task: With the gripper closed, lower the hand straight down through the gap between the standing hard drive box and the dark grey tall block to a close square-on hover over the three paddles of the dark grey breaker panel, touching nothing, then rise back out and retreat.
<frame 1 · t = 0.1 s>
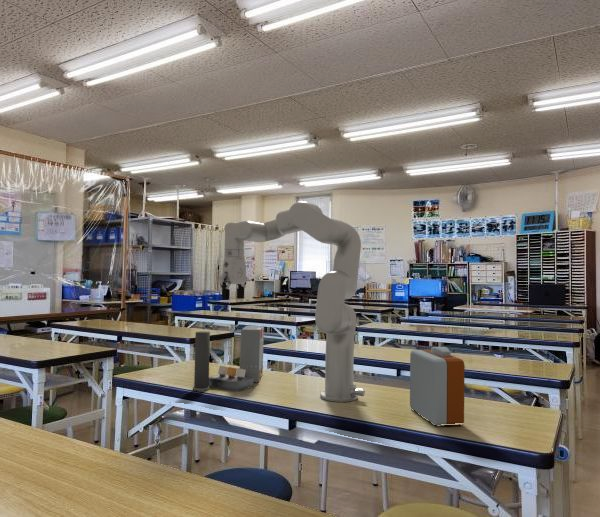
hand: (233, 299, 179), 31 cm above the table, tool pointing down, fingers open, 9 cm apart
grey and brown block: (435, 418, 137), on the table
dark grey tall block: (201, 389, 165), on the table
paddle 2: (231, 372, 170), point 5 cm above the table, hinge at 18.0°, touching breaker panel
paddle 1: (240, 374, 168), point 5 cm above the table, hinge at 18.0°, touching breaker panel
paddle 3: (222, 371, 172), point 5 cm above the table, hinge at 18.0°, touching breaker panel
breaker panel: (230, 386, 170), on the table
hard drive box: (251, 378, 183), on the table
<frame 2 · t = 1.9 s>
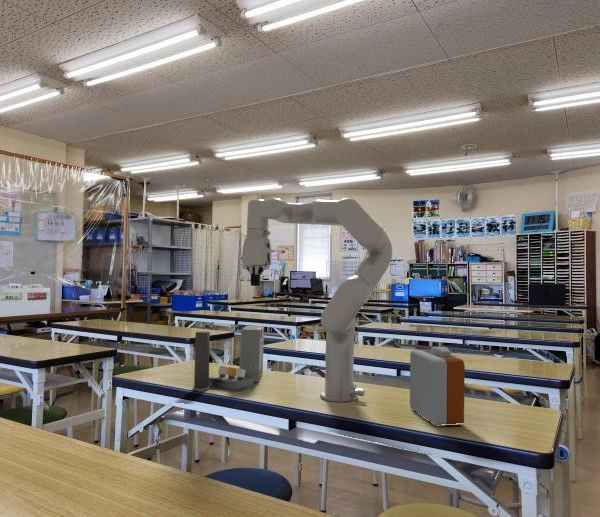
hand: (255, 285, 166), 37 cm above the table, tool pointing down, fingers closed
nothing on the table moved.
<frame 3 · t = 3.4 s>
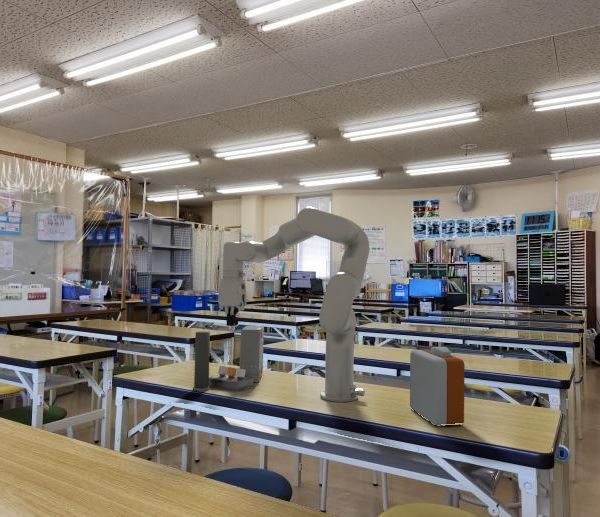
hand: (230, 325, 171), 22 cm above the table, tool pointing down, fingers closed
nothing on the table moved.
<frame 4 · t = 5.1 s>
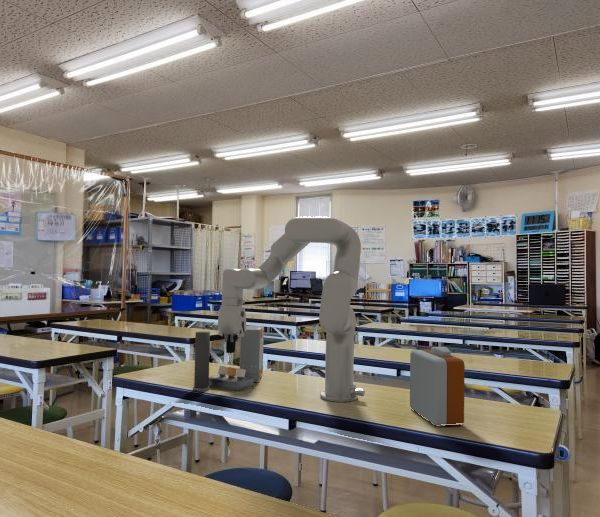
hand: (230, 352, 170), 12 cm above the table, tool pointing down, fingers closed
nothing on the table moved.
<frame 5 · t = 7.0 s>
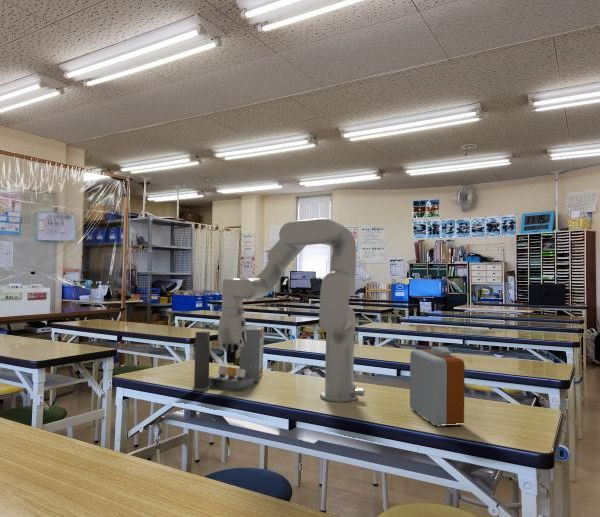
hand: (231, 362, 170), 9 cm above the table, tool pointing down, fingers closed
nothing on the table moved.
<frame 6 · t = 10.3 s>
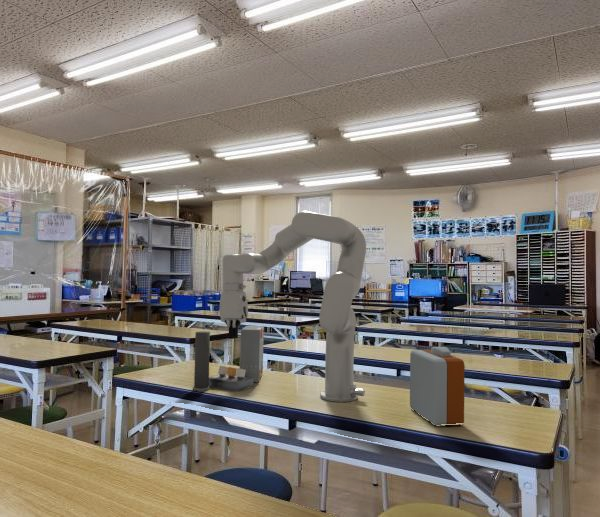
hand: (233, 338, 170), 17 cm above the table, tool pointing down, fingers closed
nothing on the table moved.
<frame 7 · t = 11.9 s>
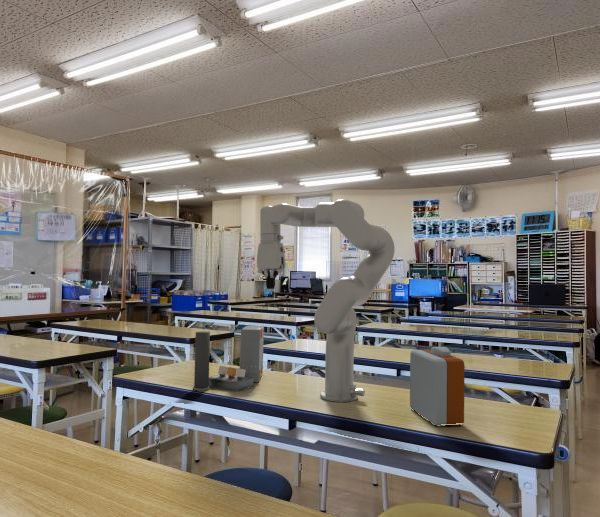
hand: (270, 288, 173), 36 cm above the table, tool pointing down, fingers closed
nothing on the table moved.
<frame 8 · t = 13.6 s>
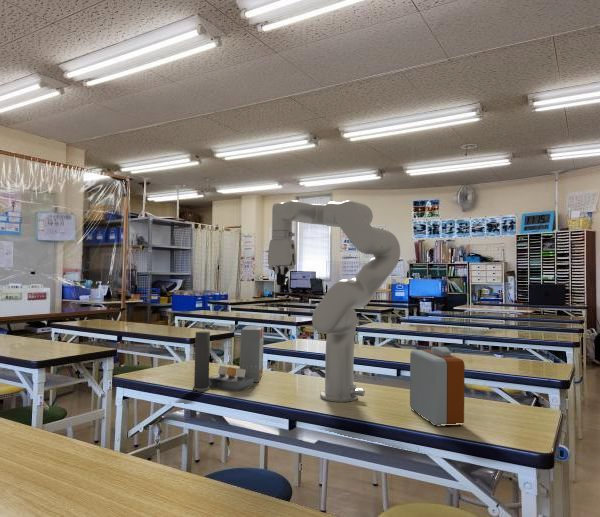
hand: (280, 285, 174), 37 cm above the table, tool pointing down, fingers closed
nothing on the table moved.
at the end: hard drive box moved 0.3 cm from its start; dark grey tall block moved 0.0 cm from its start; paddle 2 at +18° (first picture: +18°) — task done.
